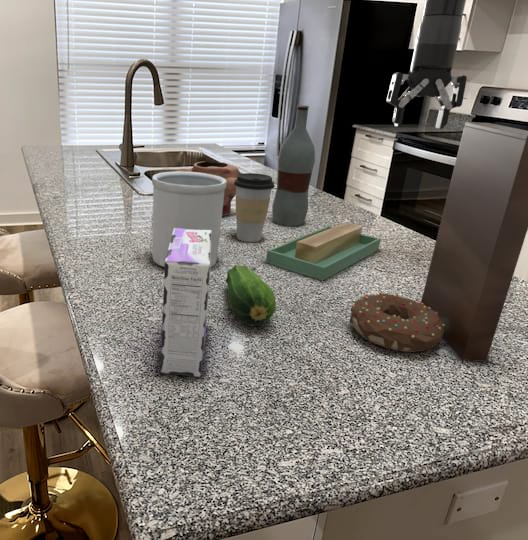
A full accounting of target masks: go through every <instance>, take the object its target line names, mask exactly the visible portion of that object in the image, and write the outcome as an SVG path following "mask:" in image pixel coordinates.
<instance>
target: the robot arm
mask: <svg viewBox="0 0 528 540" xmlns="http://www.w3.org/2000/svg"><path fill="white" fill-rule="evenodd" d="M466 2H467V0H425V1H424V6H423V11H422V17H421V20H420V23H419V26H418V30H417V34H416V36H415V44H414V50H413V54H412V59H411V64H410V70H409V71H408V73H402V72H394V73H393V74H392V76H391V81H390V84H389V88H388V93H387V97H386V103H387V104H390V105H392V106H393V107H394V110H393V115H392V124H394V125H393V126H394V127H396V128H397V127H398V128H401V127H402V124H403V119H404V115H405V110H406V108H405V106H406V105H407V104H408V103H409V102H410V101H412V100H413V99H414V98H415V97H419V98H421V97H422V98H424V97H428V98H435V100H436V101H437V102H438V104H439V107H440V108H439V109H438V115H437V118H436V123H435V129H438V130H443V129H444V127H446V126H447V125H448V121H449V117H450V112H451V110H452V109H455V108H460V107H461V106H462V105H463V101H464V96H465V91H466V90H465V89H466V85H467V80H468V77H467V75H464V74H457V75H452V69H453V66H454V62H455V58H456V54H457V48H458V44H459V40H460V34H461V31H462V23H463V15H464V12H465V6H466ZM405 81H406V82H407V85H408V87H407V88H406V89H405V91H404V92H403V93H401V96H400V97H399V94H400V89H401V85H404V84H405ZM450 83H451V86H452V87H453V88H452V92H451V99H450V96H449V93H448V91H447V90H446V87H448V85H450Z"/></svg>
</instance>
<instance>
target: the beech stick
mask: <svg viewBox="0 0 528 540" xmlns="http://www.w3.org/2000/svg"><path fill="white" fill-rule="evenodd" d="M332 227H333V228H330V229H328V230H325V231H323V232H320V233H318V234H315V235H312V236H310V237H307V238H305V239H302V240H300V241H297V245H296V252H295V258H297V259H301V260H304V261H307V262H311V263H314V264H316V263H318V262H320V261H322V260H324V259H326V258H329V257H331V256H333V255H335V254H337V253H339V252H341V251H343V250H345V249H347V248H350V247H352V246H354V245H356V244H358V243H359V242H360V237H361V234H362V231H363V226H361V225H357V224H353V223H349V222H342V223H340V224H338V225H335V226H332Z"/></svg>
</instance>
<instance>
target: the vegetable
mask: <svg viewBox="0 0 528 540" xmlns="http://www.w3.org/2000/svg"><path fill="white" fill-rule="evenodd" d="M226 274H227V276H226V279H225V282H226V285H227V299H228V304H229V306H230V309H231V311H232V314H233V316H234V317H235V318H236V320H238V321H239V322H241V323H242V324H245V325H248V326H251V327H252V326H261V325H262V324H264V323H267V321H270V319H271V318H272V316H273V315H274V314H275V312H276V310H277V306H276V305H277V303H276V297H275V293H274V291H273V289H272V288H271V287H270V285H268V284H267V283H266V282H265V281H264V280H263V279H262V278H261V276H259V275H258V274H257V273H256V272H255V271H253V270H251V269H250V268H249V267H248V266H247V265H237V264H235V265H234V266H232V268H230V269H228V270H227V273H226Z"/></svg>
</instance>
